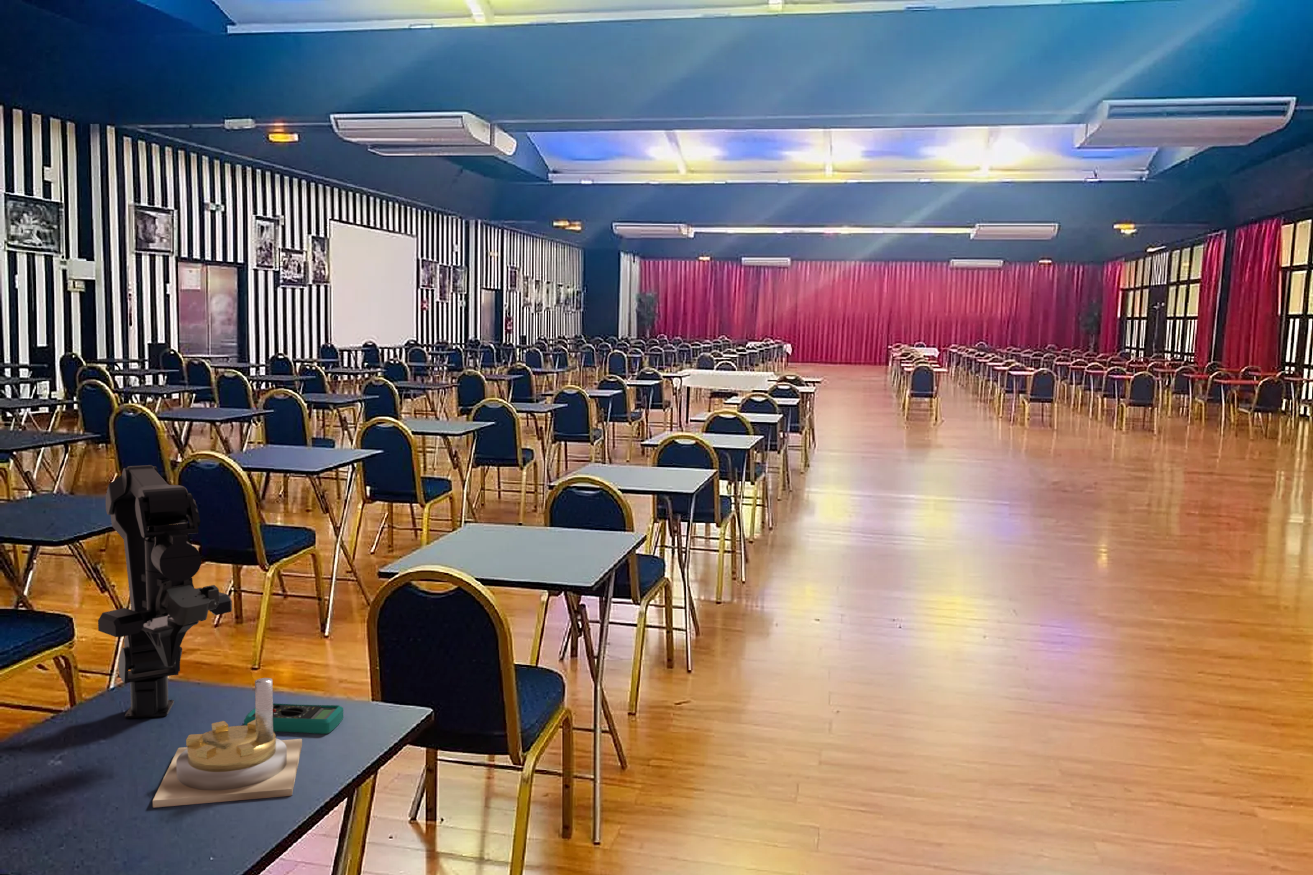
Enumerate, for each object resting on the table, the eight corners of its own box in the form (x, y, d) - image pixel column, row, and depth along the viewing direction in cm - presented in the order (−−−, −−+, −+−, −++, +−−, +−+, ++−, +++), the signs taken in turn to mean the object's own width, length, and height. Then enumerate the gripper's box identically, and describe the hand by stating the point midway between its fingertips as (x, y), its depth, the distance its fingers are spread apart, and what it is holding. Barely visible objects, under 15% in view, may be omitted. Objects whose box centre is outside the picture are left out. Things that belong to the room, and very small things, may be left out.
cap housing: (178, 754, 157) (178, 735, 157) (302, 744, 162) (301, 726, 162) (152, 807, 140) (152, 786, 140) (292, 795, 145) (291, 775, 144)
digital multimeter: (259, 716, 174) (259, 700, 174) (345, 720, 174) (345, 703, 173) (240, 733, 167) (239, 716, 167) (329, 737, 166) (329, 719, 166)
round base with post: (239, 731, 159) (238, 663, 158) (294, 748, 153) (293, 677, 152) (168, 760, 148) (166, 686, 147) (225, 779, 142) (223, 703, 141)
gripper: (133, 587, 146) (137, 693, 148) (251, 565, 161) (253, 661, 163) (94, 576, 152) (98, 677, 154) (211, 555, 168) (213, 648, 169)
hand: (169, 666), depth 160 cm, fingers closed
